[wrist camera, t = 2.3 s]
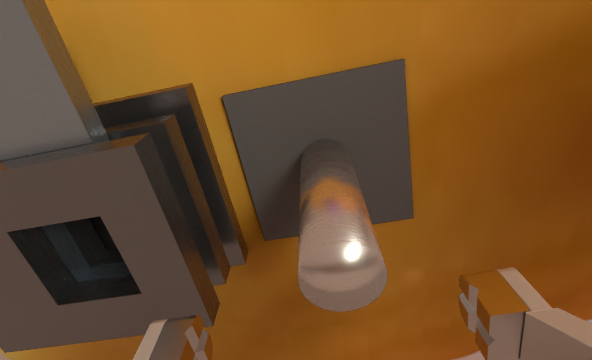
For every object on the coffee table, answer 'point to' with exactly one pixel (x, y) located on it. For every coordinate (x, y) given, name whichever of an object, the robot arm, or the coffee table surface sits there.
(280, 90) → the rubber mat
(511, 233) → the coffee table surface
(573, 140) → the coffee table surface
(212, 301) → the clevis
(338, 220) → the steel pin
